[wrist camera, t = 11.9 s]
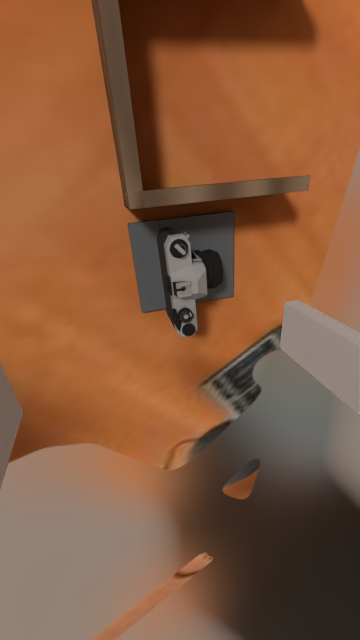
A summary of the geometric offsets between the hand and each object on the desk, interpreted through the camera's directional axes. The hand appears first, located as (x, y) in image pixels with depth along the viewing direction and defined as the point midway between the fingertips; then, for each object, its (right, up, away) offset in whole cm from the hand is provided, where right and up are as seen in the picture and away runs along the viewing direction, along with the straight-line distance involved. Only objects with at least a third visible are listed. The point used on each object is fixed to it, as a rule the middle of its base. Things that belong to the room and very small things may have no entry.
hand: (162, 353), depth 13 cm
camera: (+1, +8, +25) cm, 26 cm away
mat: (+2, +10, +25) cm, 26 cm away
